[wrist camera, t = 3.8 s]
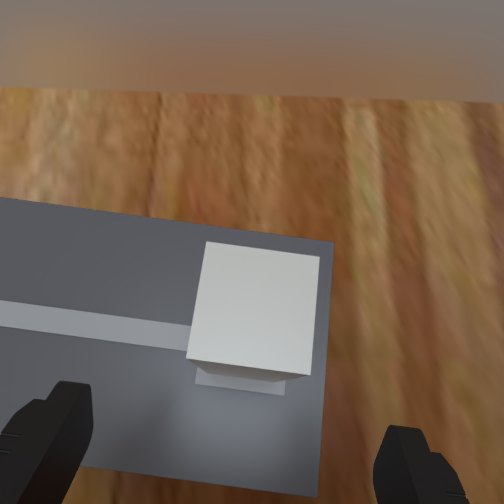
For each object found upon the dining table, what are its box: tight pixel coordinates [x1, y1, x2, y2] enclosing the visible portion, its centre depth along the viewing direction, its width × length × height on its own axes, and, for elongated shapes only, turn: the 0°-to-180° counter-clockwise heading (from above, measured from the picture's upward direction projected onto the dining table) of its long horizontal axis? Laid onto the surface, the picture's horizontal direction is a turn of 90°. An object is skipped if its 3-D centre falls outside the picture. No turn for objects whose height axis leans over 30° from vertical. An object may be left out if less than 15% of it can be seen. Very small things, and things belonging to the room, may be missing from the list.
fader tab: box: [186, 241, 320, 396], centre depth 15 cm, size 4×4×10 cm
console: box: [0, 197, 334, 498], centre depth 21 cm, size 23×12×3 cm, turn 83°
